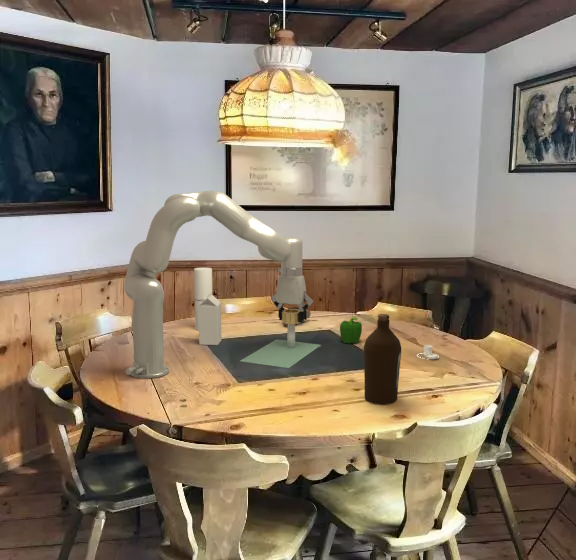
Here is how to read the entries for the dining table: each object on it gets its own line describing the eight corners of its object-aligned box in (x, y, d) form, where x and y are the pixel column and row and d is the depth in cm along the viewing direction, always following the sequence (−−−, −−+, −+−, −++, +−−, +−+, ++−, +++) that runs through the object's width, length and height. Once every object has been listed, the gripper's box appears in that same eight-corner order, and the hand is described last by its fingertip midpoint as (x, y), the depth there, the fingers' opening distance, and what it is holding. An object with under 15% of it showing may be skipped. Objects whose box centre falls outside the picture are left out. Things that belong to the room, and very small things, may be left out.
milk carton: (221, 340, 246) (221, 292, 242) (217, 345, 239) (217, 295, 235) (203, 340, 246) (202, 291, 243) (199, 345, 240) (198, 295, 236)
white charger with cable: (439, 362, 222) (440, 350, 221) (416, 360, 224) (416, 349, 223) (439, 354, 231) (439, 344, 230) (416, 353, 232) (417, 342, 231)
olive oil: (365, 406, 180) (368, 319, 175) (359, 392, 190) (361, 310, 186) (403, 405, 180) (406, 319, 176) (394, 392, 191) (398, 310, 186)
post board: (288, 372, 209) (288, 341, 207) (239, 365, 216) (239, 335, 214) (321, 348, 236) (321, 321, 234) (276, 343, 243) (276, 316, 241)
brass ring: (296, 325, 226) (296, 314, 226) (278, 323, 229) (278, 312, 228) (304, 320, 233) (304, 309, 232) (286, 318, 236) (286, 308, 235)
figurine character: (297, 323, 280) (277, 326, 267) (298, 305, 279) (279, 308, 266) (310, 325, 276) (291, 328, 263) (311, 307, 275) (292, 310, 263)
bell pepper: (334, 341, 245) (335, 316, 243) (349, 338, 250) (350, 313, 249) (350, 346, 239) (351, 320, 237) (365, 342, 244) (366, 317, 242)
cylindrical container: (193, 327, 265) (191, 268, 260) (209, 326, 268) (208, 267, 263) (198, 331, 258) (197, 270, 254) (215, 330, 261) (214, 269, 257)
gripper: (265, 272, 228) (265, 320, 231) (310, 275, 221) (310, 325, 224) (273, 268, 234) (274, 316, 238) (318, 272, 228) (317, 320, 231)
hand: (291, 320), depth 231 cm, fingers closed on brass ring, 7 cm apart
